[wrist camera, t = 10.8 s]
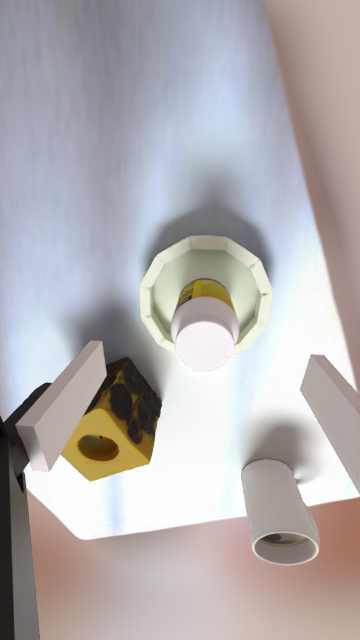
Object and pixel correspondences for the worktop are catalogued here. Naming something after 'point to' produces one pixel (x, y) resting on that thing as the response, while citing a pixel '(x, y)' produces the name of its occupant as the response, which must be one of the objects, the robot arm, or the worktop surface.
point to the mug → (278, 514)
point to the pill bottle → (204, 326)
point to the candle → (115, 425)
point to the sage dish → (206, 262)
